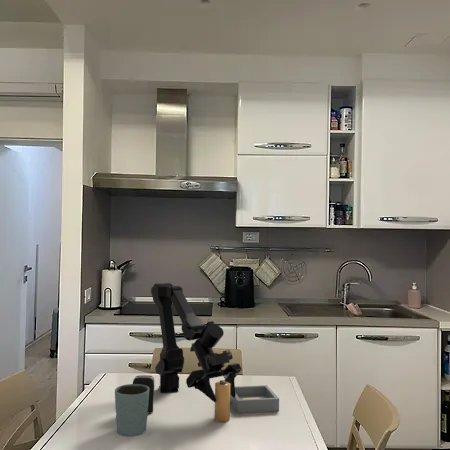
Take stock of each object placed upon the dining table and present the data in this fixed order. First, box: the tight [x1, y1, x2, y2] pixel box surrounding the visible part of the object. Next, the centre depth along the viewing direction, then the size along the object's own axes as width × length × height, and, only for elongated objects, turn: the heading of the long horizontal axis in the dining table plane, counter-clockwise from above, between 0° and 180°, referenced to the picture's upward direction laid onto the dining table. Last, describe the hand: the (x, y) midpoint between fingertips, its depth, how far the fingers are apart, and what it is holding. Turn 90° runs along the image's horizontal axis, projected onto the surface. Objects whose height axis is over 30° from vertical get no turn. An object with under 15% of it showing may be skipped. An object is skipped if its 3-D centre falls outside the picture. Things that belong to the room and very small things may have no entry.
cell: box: [213, 379, 231, 423], centre depth 150 cm, size 5×5×12 cm
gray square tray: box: [230, 384, 280, 414], centre depth 164 cm, size 14×14×4 cm
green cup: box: [114, 383, 149, 437], centre depth 140 cm, size 10×10×12 cm
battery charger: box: [132, 375, 155, 414], centre depth 155 cm, size 7×4×11 cm, turn 93°
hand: (225, 399), depth 149 cm, fingers open, 7 cm apart
